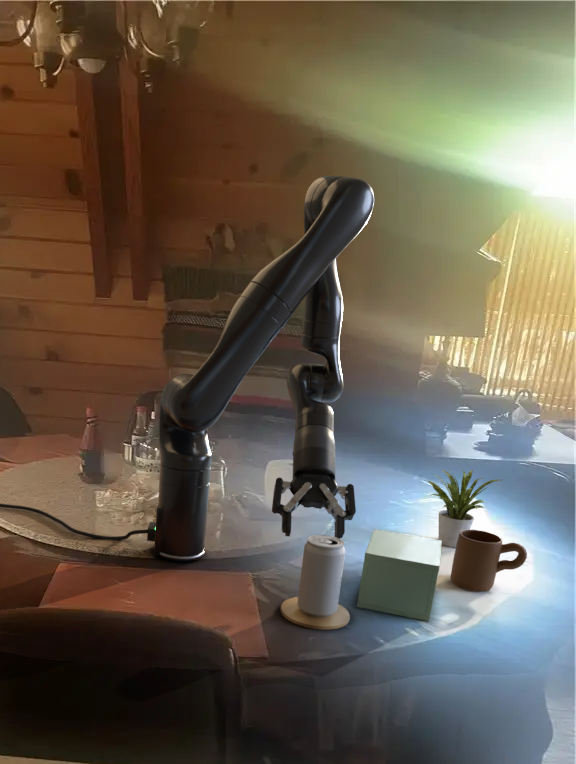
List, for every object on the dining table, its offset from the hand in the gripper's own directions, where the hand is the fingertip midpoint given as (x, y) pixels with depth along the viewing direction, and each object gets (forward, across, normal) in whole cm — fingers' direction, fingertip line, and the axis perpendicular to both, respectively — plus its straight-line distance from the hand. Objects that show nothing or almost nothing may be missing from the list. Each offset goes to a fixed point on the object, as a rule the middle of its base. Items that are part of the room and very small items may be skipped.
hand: (313, 536), depth 129 cm
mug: (+2, +33, +11) cm, 35 cm away
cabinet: (+8, +15, +5) cm, 18 cm away
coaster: (+14, 0, -1) cm, 14 cm away
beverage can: (+14, 0, -2) cm, 14 cm away
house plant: (-15, +35, +28) cm, 48 cm away
